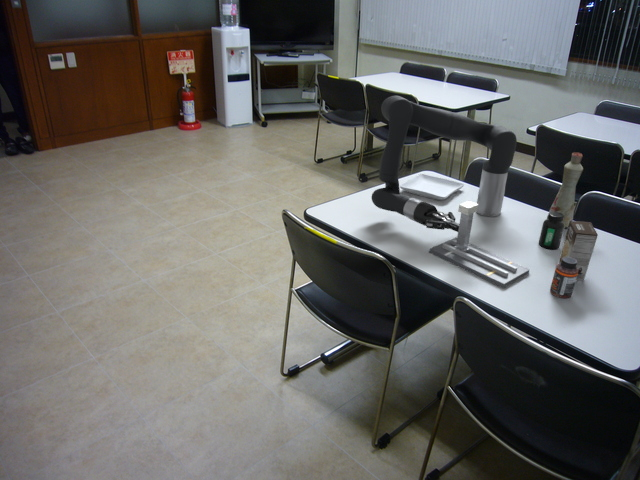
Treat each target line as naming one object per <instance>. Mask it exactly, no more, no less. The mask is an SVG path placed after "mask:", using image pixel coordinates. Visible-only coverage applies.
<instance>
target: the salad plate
mask: <svg viewBox="0 0 640 480" xmlns="http://www.w3.org/2000/svg"><path fill="white" fill-rule="evenodd" d="M464 186H465V183H462V182H459V181H455V180H450V179H447V178H443V177H439V176H434V175H429V174H425V173H420V174H418V175H416V176H414V177H412V178H411V179H408V180H407V181H405V182H403V183H402V184H399V189H401V190H403V191H404V192H407V193H410V194H414V195H417V196H420V197H425V198H428V199H433V200H437V201H443V200H445V199H447V198H448V197H449V196H451V195H453V194H455V193H456V192H458V191H459V190H461V189H462V188H463V187H464Z"/></svg>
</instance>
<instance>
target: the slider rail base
mask: <svg viewBox="0 0 640 480" xmlns="http://www.w3.org/2000/svg"><path fill="white" fill-rule="evenodd" d="M456 242H457V236H456V237H453V238H451V239H448V240H447V241H445V242H442V243H439V244H436V245H435V246H433V247H431V248H429V252H428V253H429V254H431V255H433V256H435V257H437V258H439V259H442V260H443V261H446V262H448V263H450V264H452V265H453V266H454V265H455V266H456V267H458V268H460V269H462V270H464V271H466V272H468V273H471V274H473V275H475V276H476V277H479V278H481V279H483V280H485V281H487V282H489V283H491V284H494V285H496V286H497V287H500V288H501V289H504V288H506V287H508V286H510V285H511V284H512V285H513V283H515V282H516V281H518V280H521V279H522V278H524V277H526V276H527V275H529V273H530V269H529V268H527V267H525V266H523V265H520V264H518V263H515V262H513V261H512V260H509V259H506V258H505V257H502V256H499V255H497V254H496V253H493V252H491V251H488V250H486V249H484V248H481V247H479V246H476V245H474V244H473V243H470V242H469V244H468V248H469V252H467V253H465V252H463V251H461V250H459V249H456V248H454V247H455V246H456Z"/></svg>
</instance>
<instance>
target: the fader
mask: <svg viewBox="0 0 640 480" xmlns="http://www.w3.org/2000/svg"><path fill="white" fill-rule="evenodd" d="M477 210H478V204H477V202H473V201H470V200H467V201H464V202H461V203H460V204H459V205H458V209H457V211H458V212H459V213H460V218H459V223H458V224H459V230H458V232H457V236H456V238H457V242H456V246H455V247H454V248H456V249H459V250H461V251H463V252H465V253H467V252H469V248H468V244H469V243H470V238H471V231H472V225H473V219H474V214H475V213H477Z"/></svg>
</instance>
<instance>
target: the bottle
mask: <svg viewBox="0 0 640 480" xmlns="http://www.w3.org/2000/svg"><path fill="white" fill-rule="evenodd" d="M570 157H571V159H570V161H568V162H567V163H566V164H565V165H564V166H563V167H564V168H563V175H562V183H561V185H560V188H559V190H558V193H557V194H556V196H555V198H554V201H553V202H552V204H551V207H550V208H549V211H548V213H549V212H560V213H562V214H563V215H564V219H563V221H562V222H563V223H564V224H565V228H568V226H569V222H570V221H574V214H575V213H574V211H575V201H576V200H575V198H576V189H577V187H576V186H577V184H578V182H579V179H580V177H581V175H582V173H583V171H584V167H583V166H582V164H581V161H582V159H583V154H582V153H581V152H572V153H571V156H570ZM547 217H548V215H547ZM547 217H546V219H548V218H547ZM565 228H564V229H565Z"/></svg>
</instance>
